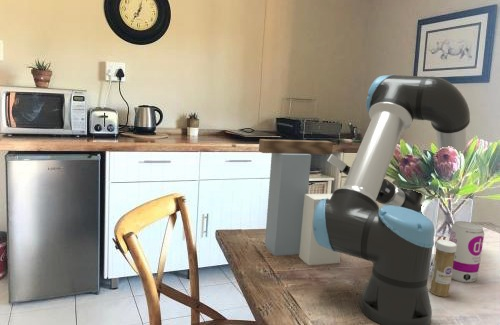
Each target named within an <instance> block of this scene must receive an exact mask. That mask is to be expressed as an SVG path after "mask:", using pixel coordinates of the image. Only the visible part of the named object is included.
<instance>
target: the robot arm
mask: <svg viewBox="0 0 500 325" xmlns="http://www.w3.org/2000/svg"><path fill="white" fill-rule="evenodd" d="M367 95H368V96H367V97H366V102H365V103H366V104H365V105H366V111H367V113H368V115H369V119H370V122H369V125H368V127H367V129H366V131H365V133H364V135H363V138H362V140H361V143H360V145H359V148H358V150H357V152H356V155H355V157H354V159H353V161H352V164H351V166H349V165H348V164H347V163H346V162H344V161H343V160H342V159H340V158H339V157H337V156H336V155H334V154H333V153H332V154H329V155H330V156H329V157H328V158H327V160H326V161H327V162H328V163H330V164H331V165H332V166H334V167H335V168H337V169H338V171H339V173H340V174H342V173H343V174H344V175H346V177H345V180H344V183H343V185H342V187H338V188H336V189H334V191H333V192H332V193H331V194H332V196H331V199H330V200H329V199H328V198H327V199H322V200H320V201H319V202H318V204H317V206H316V209H315V213H314V218H313V232H314V237H315V239H316V241H317V243H318V244H319V245H320V246H322V247H325V248H328V249H330V250H332V251H334V252H335V251H337V252H340V253H341V254H345V255H347V256H351V257H354V258H358V259H360V260H361V259H362V260H366V261H369V262H372V272H371V276H370V278H369V280H368V282H367V283H366V285H365V288H364V289H363V292H362V294H361V296H360V304H359V307H360V310H361V311H362V313H363V314H364V315H365V316H366V317H367V318H369V319H370V320H372V321H373V322H375V323H377V324H379V325H430V324H431V322H432V315H433V310H432V305H431V298H430V296H429V291H428V279H429V276H430V275H429V274H430V268H431V262H432V253H433V248H434V245H435V240H434V239H435V238H434V237H435V226H434V223H433V221H432V220H431V219H430V218H429V217H427V216H426V215H425V216H424V215H423V214H422V212H421V206H422V205H423V204H422V199H423V197H424V195H422V194H421V193H418V192H416V191H413V190H407V189H403V188H400V187H398V186H397V185H395V184H394V183H393V182H391V181H390V180H388V179H386V178H385V177H386V175H387V172H388V169H389V168H390V167H389V166H390V164H391V161H392V158H393V156H394V154H395V151H396V148H397V147H398V146H397V145H398V143H399V140H400V137H401V136H402V133H403V131H405V130H407V129H409V128H410V127H411V126H412V123H413V120H416V121H417V120H418V121H428V122H430V123H431V127H432V129H434V131H435V134H436V141H437V142H436V143H437V150H438V149H440V148H442V147H448V146H452V147H454V148H455V149H456V150H458V151H461V152H462V151H463V150H464V149H465V146H466V147H467V128H468V126H469V125H470V123H471V121H470V120H471V117H470V116H471V114H470V113H471V112H470V108H469V106H468V103H467V99H465V97H464V96H463V94H462V92H461V91H460V90H459V89H458V88H457V87H456V86H455V85H454V84H452V83H451V82H450V81H448V80H447V79H444V78H442V77H438V76H424V75H423V76H420V75H417V76H415V75H397V74H389V75H380V76H378V77H376V78H375V79H374V81H373V82H372V83H371V85H370V87H369V89H368V92H367ZM474 197H475V193H474V194H473V195H472V196H470V197H469V198H471V199H472V200H473V199H474ZM378 203H379V204H380V205H382V206H381V207H380V206H379V204H378Z"/></svg>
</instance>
